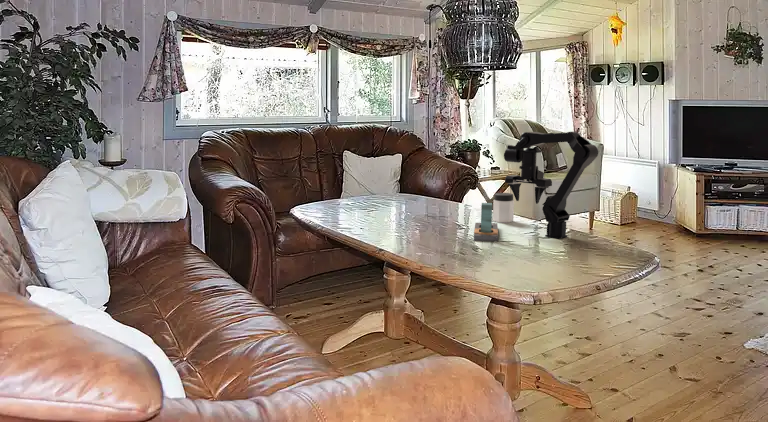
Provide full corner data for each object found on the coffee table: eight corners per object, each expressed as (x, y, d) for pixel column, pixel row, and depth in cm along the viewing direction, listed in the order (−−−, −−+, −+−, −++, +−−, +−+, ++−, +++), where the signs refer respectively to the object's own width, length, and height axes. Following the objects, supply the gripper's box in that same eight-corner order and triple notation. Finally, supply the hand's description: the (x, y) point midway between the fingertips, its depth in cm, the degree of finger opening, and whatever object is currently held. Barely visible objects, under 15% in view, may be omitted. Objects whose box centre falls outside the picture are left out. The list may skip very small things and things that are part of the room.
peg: (480, 235, 253) (481, 202, 251) (491, 235, 253) (492, 203, 250) (480, 237, 249) (481, 204, 247) (491, 237, 249) (492, 204, 247)
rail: (475, 227, 269) (475, 221, 269) (497, 228, 268) (497, 222, 267) (473, 240, 244) (473, 234, 244) (497, 241, 243) (497, 235, 242)
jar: (512, 219, 287) (513, 192, 285) (514, 222, 279) (515, 195, 277) (492, 219, 288) (492, 192, 286) (493, 222, 280) (494, 195, 278)
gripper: (560, 163, 255) (558, 202, 258) (520, 160, 269) (519, 197, 271) (544, 165, 248) (543, 205, 250) (504, 162, 261) (503, 200, 264)
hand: (527, 202), depth 259 cm, fingers open, 9 cm apart
